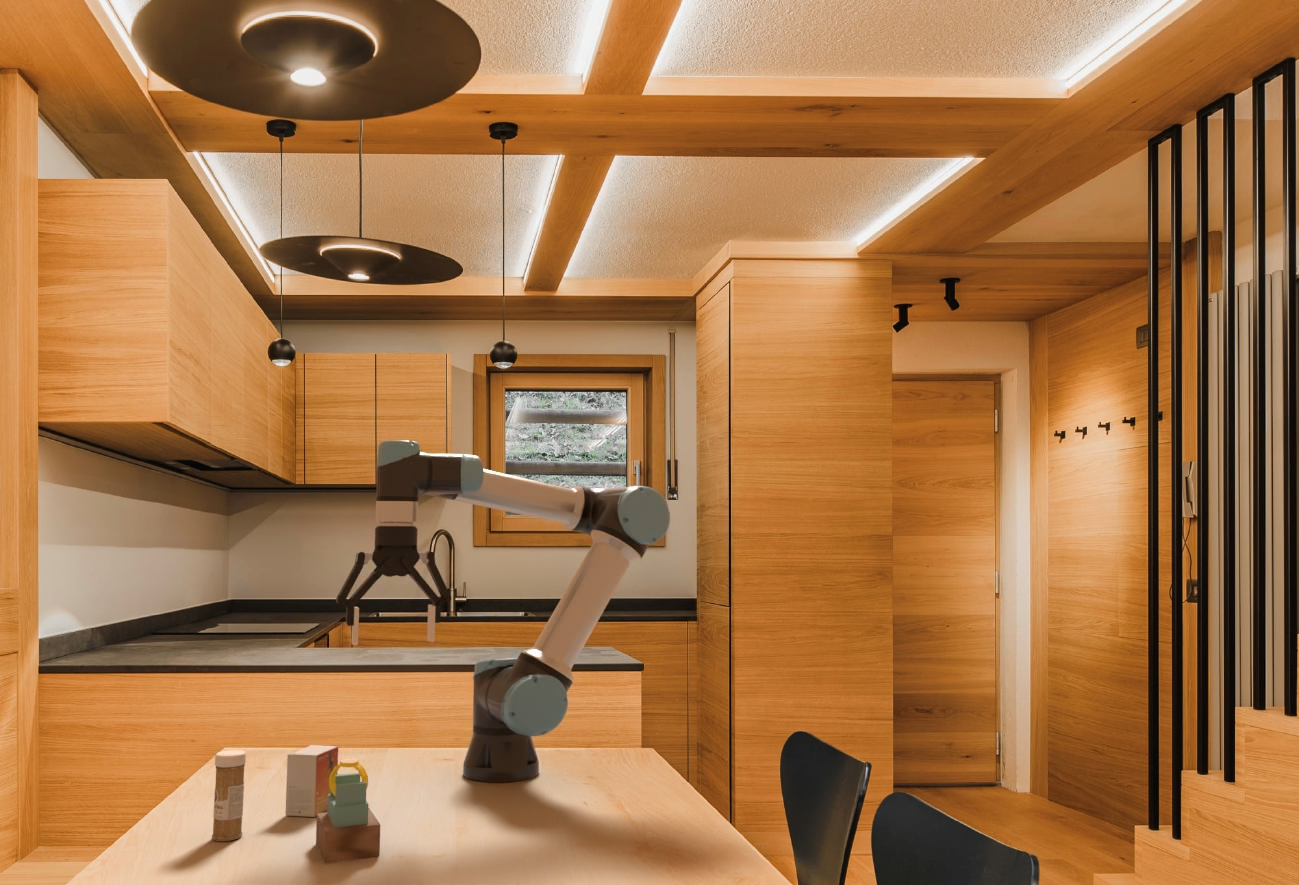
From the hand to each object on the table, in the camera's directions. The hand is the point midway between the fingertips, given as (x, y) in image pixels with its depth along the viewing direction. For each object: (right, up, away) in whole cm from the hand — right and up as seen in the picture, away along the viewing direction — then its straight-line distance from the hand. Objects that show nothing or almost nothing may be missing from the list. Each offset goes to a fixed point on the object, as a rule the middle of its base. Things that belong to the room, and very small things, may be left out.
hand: (393, 643), depth 184 cm
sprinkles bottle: (-21, -27, -22) cm, 41 cm away
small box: (-13, -29, -6) cm, 32 cm away
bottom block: (0, -27, -27) cm, 38 cm away
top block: (0, -22, -27) cm, 35 cm away
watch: (0, -19, -27) cm, 33 cm away
